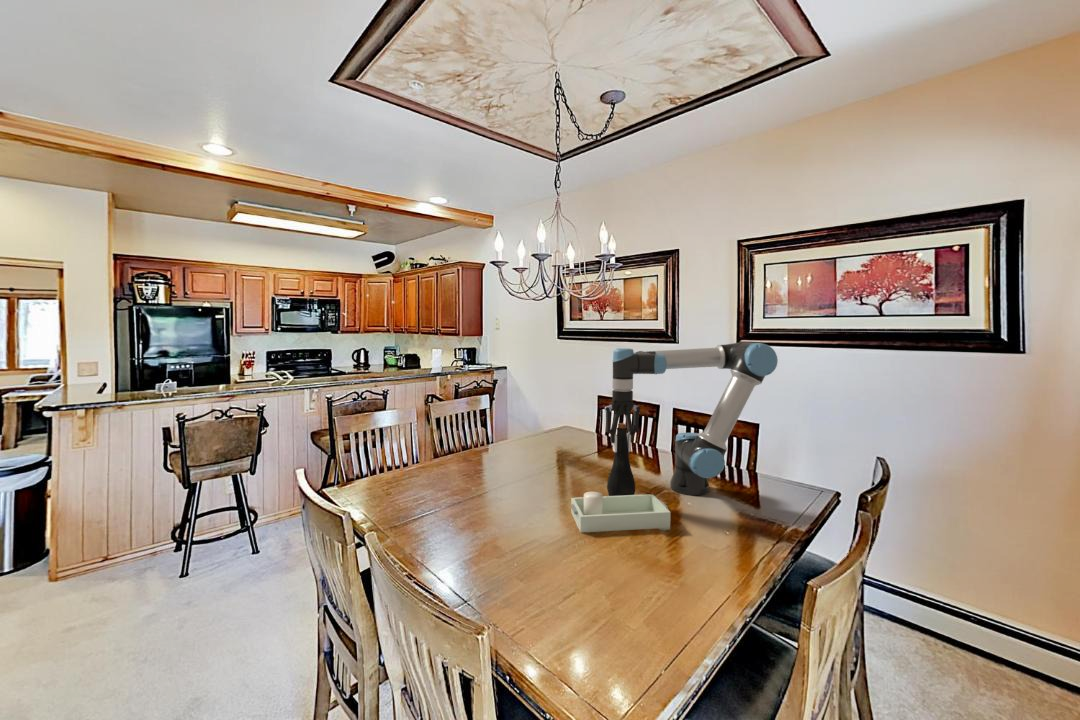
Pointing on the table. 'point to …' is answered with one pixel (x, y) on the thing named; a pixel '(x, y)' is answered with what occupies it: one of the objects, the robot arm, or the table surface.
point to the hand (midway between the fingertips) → (621, 450)
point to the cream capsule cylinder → (593, 503)
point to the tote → (623, 514)
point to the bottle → (621, 467)
